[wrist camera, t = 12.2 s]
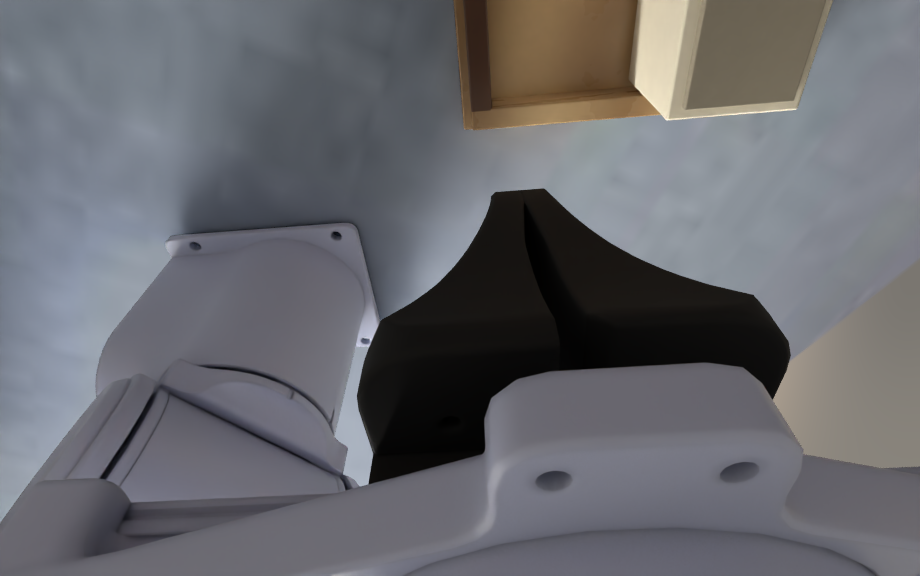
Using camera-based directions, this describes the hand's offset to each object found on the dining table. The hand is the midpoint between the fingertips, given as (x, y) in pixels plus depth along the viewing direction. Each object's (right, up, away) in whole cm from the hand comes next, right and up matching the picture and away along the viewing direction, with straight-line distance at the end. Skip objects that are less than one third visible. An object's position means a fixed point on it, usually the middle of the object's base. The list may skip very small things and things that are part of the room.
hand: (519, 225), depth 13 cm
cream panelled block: (+7, +9, +6) cm, 12 cm away
